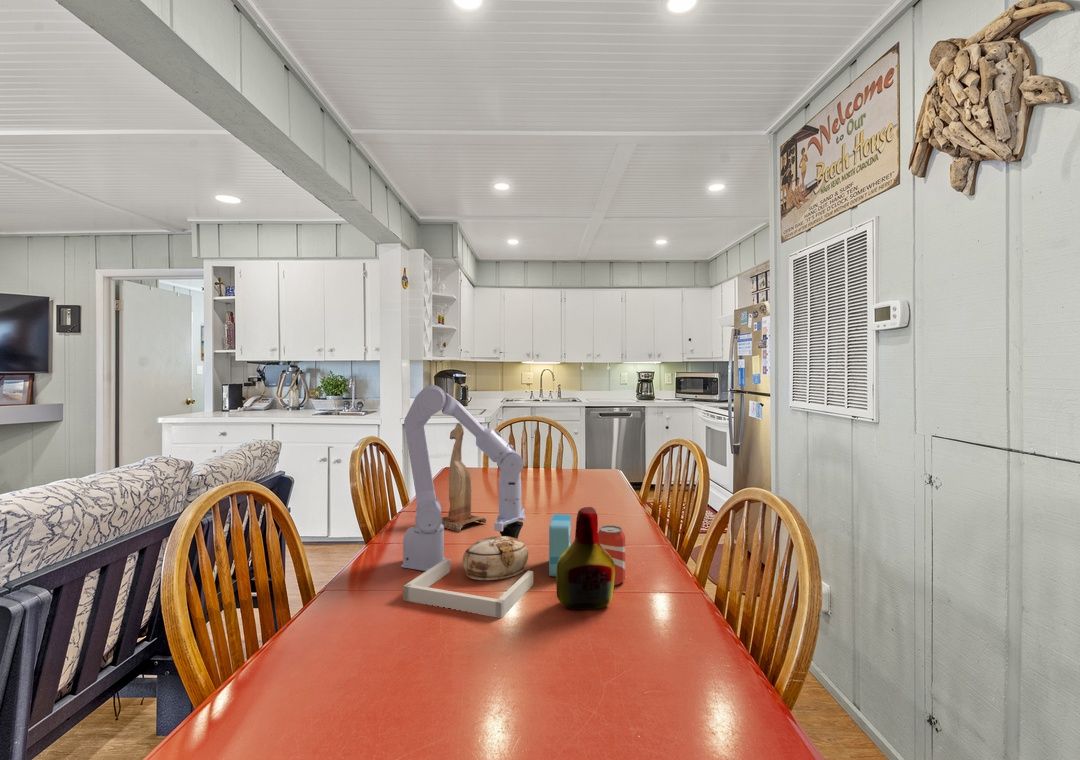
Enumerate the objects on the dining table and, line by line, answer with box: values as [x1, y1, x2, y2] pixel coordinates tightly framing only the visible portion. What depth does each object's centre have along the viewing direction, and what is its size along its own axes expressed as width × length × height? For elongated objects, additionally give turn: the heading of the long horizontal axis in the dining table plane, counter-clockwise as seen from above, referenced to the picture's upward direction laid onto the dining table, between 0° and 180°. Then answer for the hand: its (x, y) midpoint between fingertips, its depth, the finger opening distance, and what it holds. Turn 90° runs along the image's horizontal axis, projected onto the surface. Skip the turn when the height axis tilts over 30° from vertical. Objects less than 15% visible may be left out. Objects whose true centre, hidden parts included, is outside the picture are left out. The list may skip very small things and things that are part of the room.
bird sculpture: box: [441, 422, 487, 533], centre depth 161 cm, size 11×12×32 cm
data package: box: [548, 513, 572, 578], centre depth 125 cm, size 12×4×12 cm, turn 174°
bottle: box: [555, 506, 615, 610], centre depth 105 cm, size 12×6×20 cm, turn 90°
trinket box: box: [462, 535, 529, 581], centre depth 124 cm, size 13×15×8 cm
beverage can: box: [598, 524, 626, 586], centre depth 118 cm, size 6×6×12 cm
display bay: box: [402, 558, 534, 619], centre depth 112 cm, size 22×17×3 cm
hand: (510, 551), depth 132 cm, fingers closed
